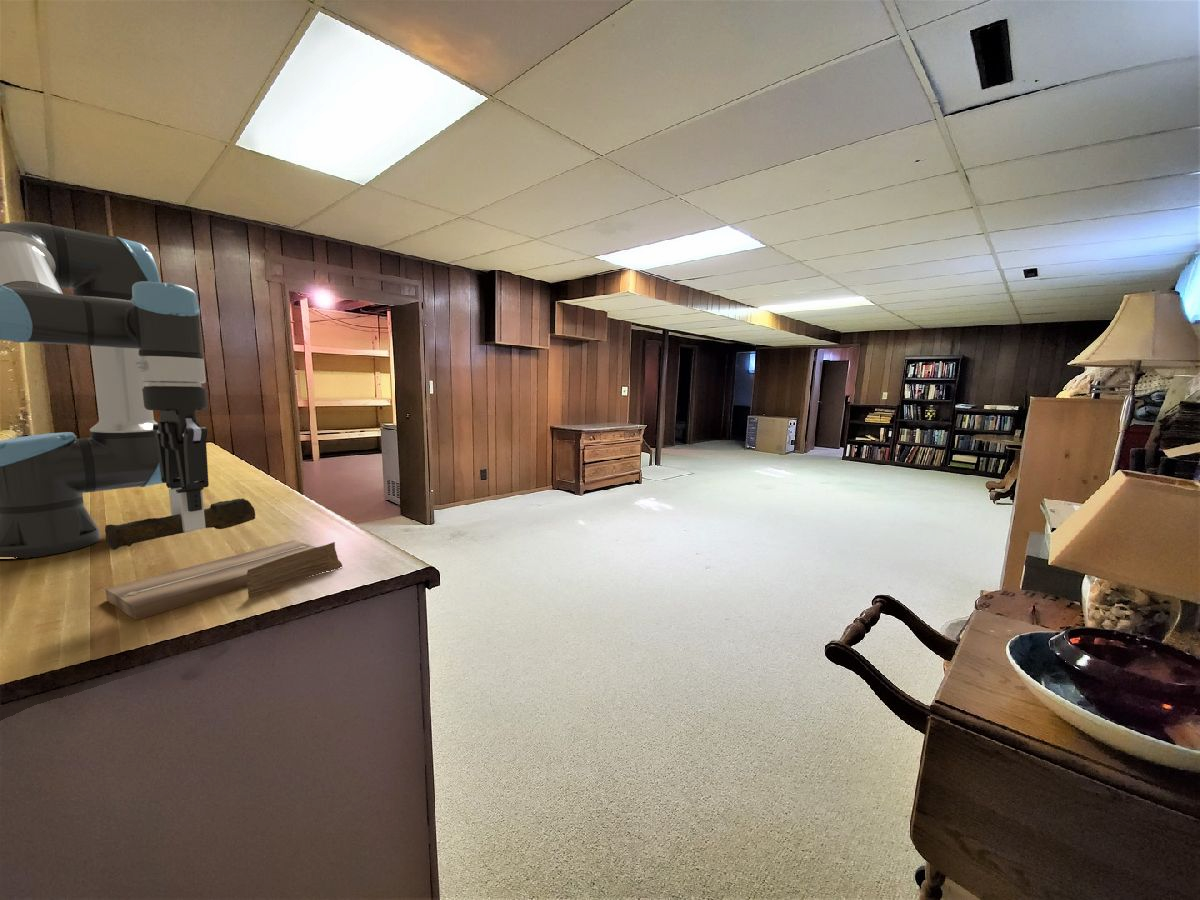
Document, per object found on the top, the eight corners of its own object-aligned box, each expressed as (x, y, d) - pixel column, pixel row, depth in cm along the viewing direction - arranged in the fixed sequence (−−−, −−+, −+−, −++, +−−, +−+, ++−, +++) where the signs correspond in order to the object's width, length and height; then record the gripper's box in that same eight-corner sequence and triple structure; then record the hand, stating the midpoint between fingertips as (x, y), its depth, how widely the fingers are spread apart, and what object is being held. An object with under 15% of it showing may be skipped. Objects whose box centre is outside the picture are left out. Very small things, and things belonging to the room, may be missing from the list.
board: (106, 600, 73) (105, 587, 73) (294, 549, 97) (294, 539, 97) (136, 620, 67) (134, 606, 67) (328, 560, 91) (327, 550, 91)
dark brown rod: (112, 553, 67) (108, 522, 67) (105, 548, 69) (101, 518, 69) (261, 524, 83) (259, 498, 83) (252, 520, 85) (250, 495, 85)
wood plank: (253, 600, 74) (251, 571, 74) (246, 598, 75) (243, 568, 74) (342, 568, 88) (341, 543, 87) (335, 566, 89) (333, 541, 88)
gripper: (123, 384, 74) (139, 525, 77) (165, 385, 66) (181, 542, 69) (182, 385, 81) (195, 515, 84) (227, 385, 73) (239, 529, 76)
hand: (189, 527), depth 76 cm, fingers closed on dark brown rod, 3 cm apart
